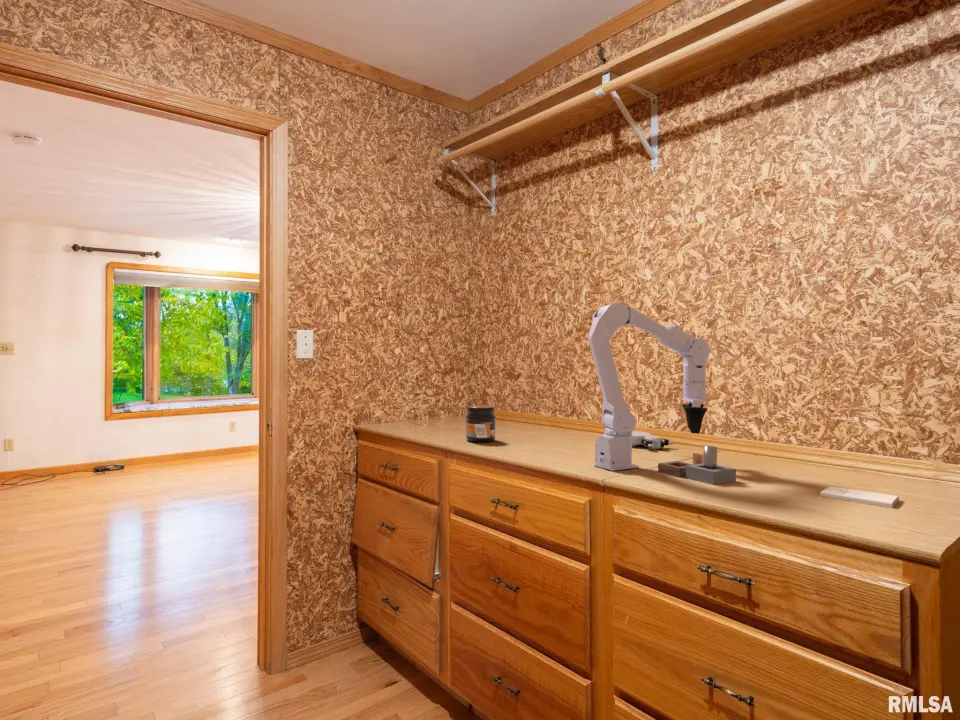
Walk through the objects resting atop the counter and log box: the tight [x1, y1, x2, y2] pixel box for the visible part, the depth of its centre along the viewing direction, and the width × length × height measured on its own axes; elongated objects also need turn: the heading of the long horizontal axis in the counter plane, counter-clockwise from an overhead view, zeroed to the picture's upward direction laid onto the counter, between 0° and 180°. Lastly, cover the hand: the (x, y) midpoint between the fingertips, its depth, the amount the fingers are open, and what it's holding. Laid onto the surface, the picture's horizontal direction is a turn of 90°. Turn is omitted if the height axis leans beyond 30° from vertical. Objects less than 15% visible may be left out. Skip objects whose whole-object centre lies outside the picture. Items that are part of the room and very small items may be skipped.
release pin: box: [692, 452, 704, 465], centre depth 139 cm, size 6×3×4 cm, turn 118°
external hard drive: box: [819, 485, 900, 509], centre depth 113 cm, size 2×8×12 cm
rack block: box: [685, 463, 737, 486], centre depth 130 cm, size 8×8×3 cm
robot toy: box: [632, 430, 675, 450], centre depth 176 cm, size 12×4×15 cm
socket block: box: [657, 460, 693, 478], centre depth 137 cm, size 7×7×2 cm
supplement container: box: [465, 405, 497, 444], centre depth 187 cm, size 10×10×12 cm
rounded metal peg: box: [703, 445, 718, 470], centre depth 130 cm, size 3×3×8 cm
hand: (693, 431), depth 146 cm, fingers open, 7 cm apart
